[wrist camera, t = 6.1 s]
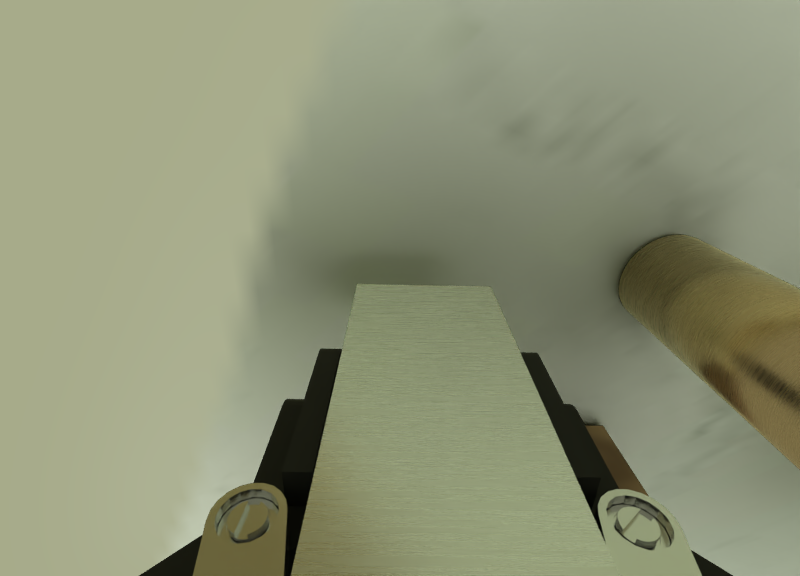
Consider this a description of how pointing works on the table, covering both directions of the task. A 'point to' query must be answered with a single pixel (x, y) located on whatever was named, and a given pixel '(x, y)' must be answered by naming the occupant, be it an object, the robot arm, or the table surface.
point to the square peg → (441, 451)
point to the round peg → (724, 328)
